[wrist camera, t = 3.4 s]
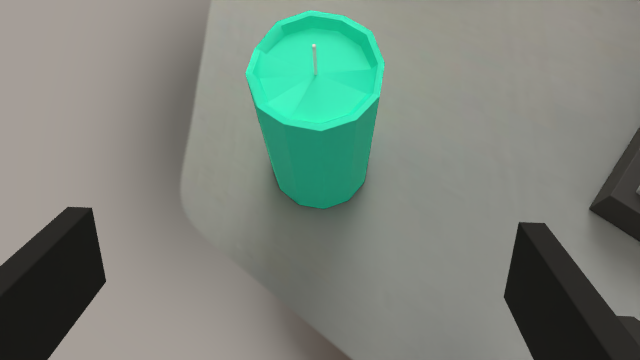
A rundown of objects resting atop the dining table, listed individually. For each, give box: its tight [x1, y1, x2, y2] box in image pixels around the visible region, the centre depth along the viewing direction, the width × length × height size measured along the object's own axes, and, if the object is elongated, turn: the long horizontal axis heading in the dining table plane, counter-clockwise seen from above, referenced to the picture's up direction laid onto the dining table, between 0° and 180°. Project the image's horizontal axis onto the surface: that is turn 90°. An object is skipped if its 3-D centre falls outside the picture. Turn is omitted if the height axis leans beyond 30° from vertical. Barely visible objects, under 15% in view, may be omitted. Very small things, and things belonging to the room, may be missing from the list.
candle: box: [245, 10, 385, 209], centre depth 25 cm, size 6×6×12 cm
